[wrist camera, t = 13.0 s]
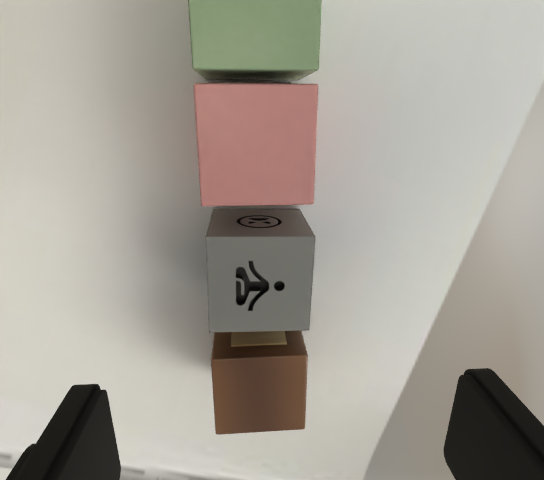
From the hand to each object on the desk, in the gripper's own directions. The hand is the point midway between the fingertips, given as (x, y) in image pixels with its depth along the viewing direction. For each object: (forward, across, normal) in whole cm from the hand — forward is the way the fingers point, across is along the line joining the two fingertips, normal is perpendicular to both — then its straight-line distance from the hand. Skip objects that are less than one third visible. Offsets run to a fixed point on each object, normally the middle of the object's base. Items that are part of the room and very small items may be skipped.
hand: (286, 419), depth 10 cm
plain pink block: (+14, +1, -6) cm, 15 cm away
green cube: (+14, +1, -12) cm, 18 cm away
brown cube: (+13, +1, +7) cm, 15 cm away
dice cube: (+14, 0, 0) cm, 14 cm away
